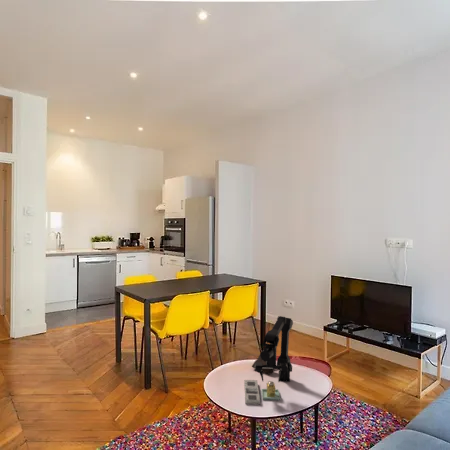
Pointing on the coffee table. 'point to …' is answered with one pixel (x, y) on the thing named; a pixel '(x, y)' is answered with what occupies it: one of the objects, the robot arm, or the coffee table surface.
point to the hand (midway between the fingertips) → (270, 381)
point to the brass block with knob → (270, 389)
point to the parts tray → (264, 397)
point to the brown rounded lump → (263, 364)
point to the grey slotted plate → (252, 387)
